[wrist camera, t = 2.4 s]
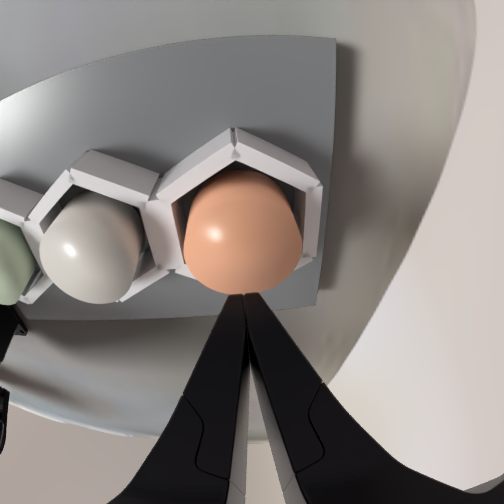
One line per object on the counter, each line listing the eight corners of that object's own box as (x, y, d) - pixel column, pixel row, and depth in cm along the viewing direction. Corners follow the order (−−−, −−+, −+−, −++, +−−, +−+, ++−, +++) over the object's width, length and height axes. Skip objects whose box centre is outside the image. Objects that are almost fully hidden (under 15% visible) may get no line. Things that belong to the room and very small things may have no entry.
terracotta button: (197, 259, 13) (194, 299, 11) (182, 175, 11) (173, 206, 9) (288, 251, 13) (298, 289, 11) (290, 166, 11) (305, 195, 9)
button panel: (34, 304, 18) (17, 340, 15) (-43, 128, 9) (-81, 153, 6) (309, 287, 18) (323, 331, 16) (323, 39, 10) (357, 37, 7)
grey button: (80, 268, 13) (64, 305, 11) (51, 197, 10) (24, 229, 9) (154, 262, 13) (145, 302, 11) (132, 182, 11) (113, 214, 9)
